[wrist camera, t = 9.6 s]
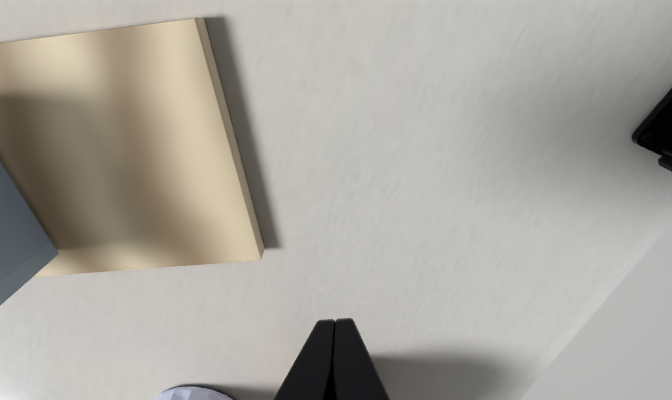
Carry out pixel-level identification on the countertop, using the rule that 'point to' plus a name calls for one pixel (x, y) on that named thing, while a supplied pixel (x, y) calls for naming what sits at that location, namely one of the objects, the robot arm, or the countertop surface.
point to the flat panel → (126, 149)
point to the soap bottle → (191, 394)
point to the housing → (19, 240)
